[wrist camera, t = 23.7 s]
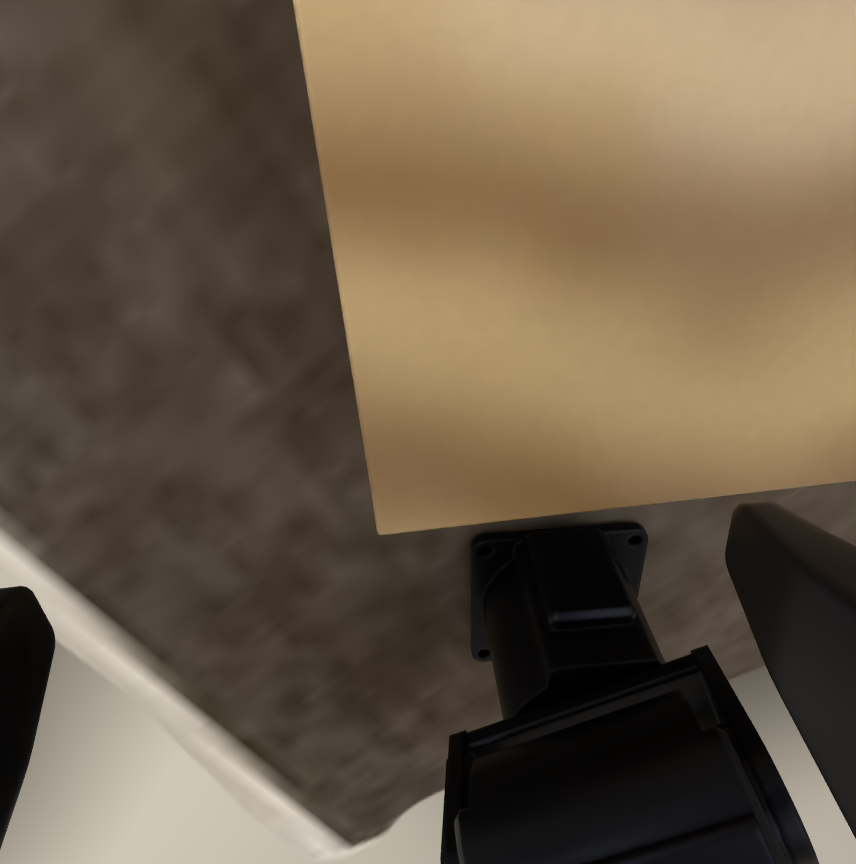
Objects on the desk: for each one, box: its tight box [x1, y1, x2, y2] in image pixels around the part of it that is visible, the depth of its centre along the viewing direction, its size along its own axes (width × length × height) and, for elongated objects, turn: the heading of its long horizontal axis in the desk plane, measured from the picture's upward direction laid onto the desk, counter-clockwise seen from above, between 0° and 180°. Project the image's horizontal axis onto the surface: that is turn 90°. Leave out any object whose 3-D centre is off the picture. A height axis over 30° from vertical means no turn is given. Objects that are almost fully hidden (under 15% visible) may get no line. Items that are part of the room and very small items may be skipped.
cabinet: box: [293, 0, 856, 535], centre depth 15 cm, size 14×12×8 cm
